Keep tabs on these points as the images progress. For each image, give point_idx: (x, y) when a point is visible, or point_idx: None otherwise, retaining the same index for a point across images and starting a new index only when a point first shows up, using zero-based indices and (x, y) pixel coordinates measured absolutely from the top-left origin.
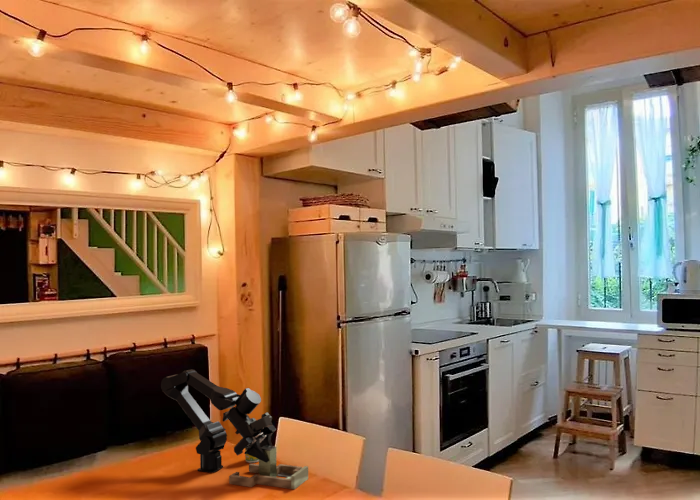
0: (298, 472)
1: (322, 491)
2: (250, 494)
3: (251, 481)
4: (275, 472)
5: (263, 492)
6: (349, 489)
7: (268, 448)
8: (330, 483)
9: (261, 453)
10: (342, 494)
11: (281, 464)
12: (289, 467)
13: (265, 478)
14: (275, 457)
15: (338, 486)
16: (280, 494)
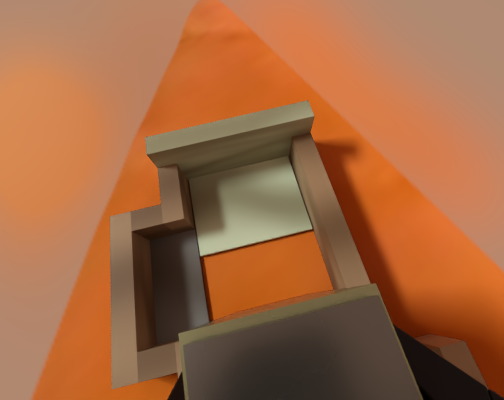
0: (250, 119)
1: (252, 63)
2: (491, 259)
3: (454, 339)
4: (244, 310)
5: (421, 223)
6: (192, 22)
7: (350, 368)
8: (174, 84)
9: (478, 392)
10: (237, 16)
11: (117, 370)
12: (136, 286)
13: (366, 282)
14: (229, 316)
15: (186, 53)
16: (377, 150)
